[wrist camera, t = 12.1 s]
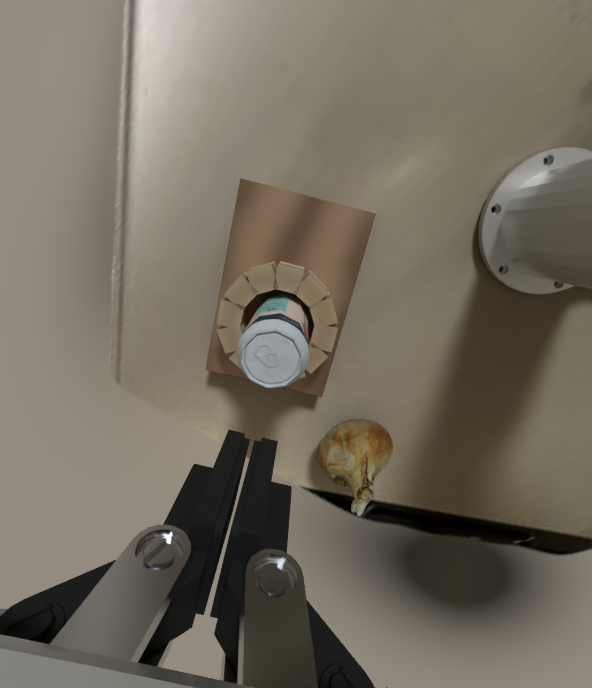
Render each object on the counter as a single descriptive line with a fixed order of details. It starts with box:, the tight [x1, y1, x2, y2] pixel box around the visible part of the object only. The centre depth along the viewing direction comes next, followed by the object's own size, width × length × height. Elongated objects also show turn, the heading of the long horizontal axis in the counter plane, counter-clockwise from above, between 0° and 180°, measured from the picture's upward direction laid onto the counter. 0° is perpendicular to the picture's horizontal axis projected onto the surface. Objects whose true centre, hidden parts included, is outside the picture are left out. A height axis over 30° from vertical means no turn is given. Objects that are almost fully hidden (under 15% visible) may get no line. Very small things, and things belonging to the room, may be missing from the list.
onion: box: [318, 416, 393, 516], centre depth 37 cm, size 8×8×8 cm
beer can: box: [237, 293, 309, 388], centre depth 29 cm, size 5×5×12 cm
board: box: [206, 178, 375, 397], centre depth 34 cm, size 12×18×6 cm, turn 166°
